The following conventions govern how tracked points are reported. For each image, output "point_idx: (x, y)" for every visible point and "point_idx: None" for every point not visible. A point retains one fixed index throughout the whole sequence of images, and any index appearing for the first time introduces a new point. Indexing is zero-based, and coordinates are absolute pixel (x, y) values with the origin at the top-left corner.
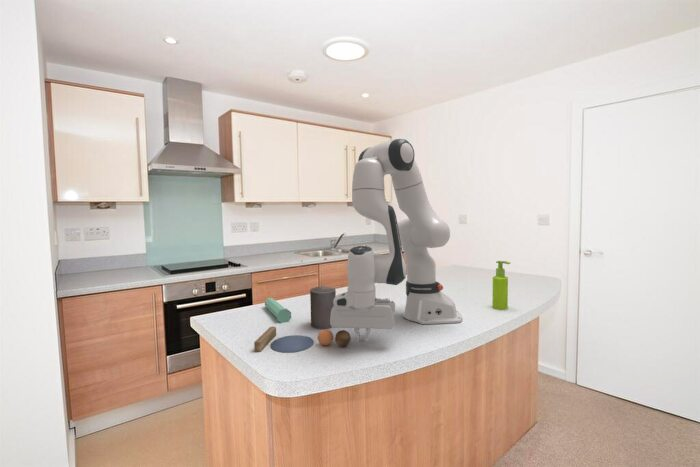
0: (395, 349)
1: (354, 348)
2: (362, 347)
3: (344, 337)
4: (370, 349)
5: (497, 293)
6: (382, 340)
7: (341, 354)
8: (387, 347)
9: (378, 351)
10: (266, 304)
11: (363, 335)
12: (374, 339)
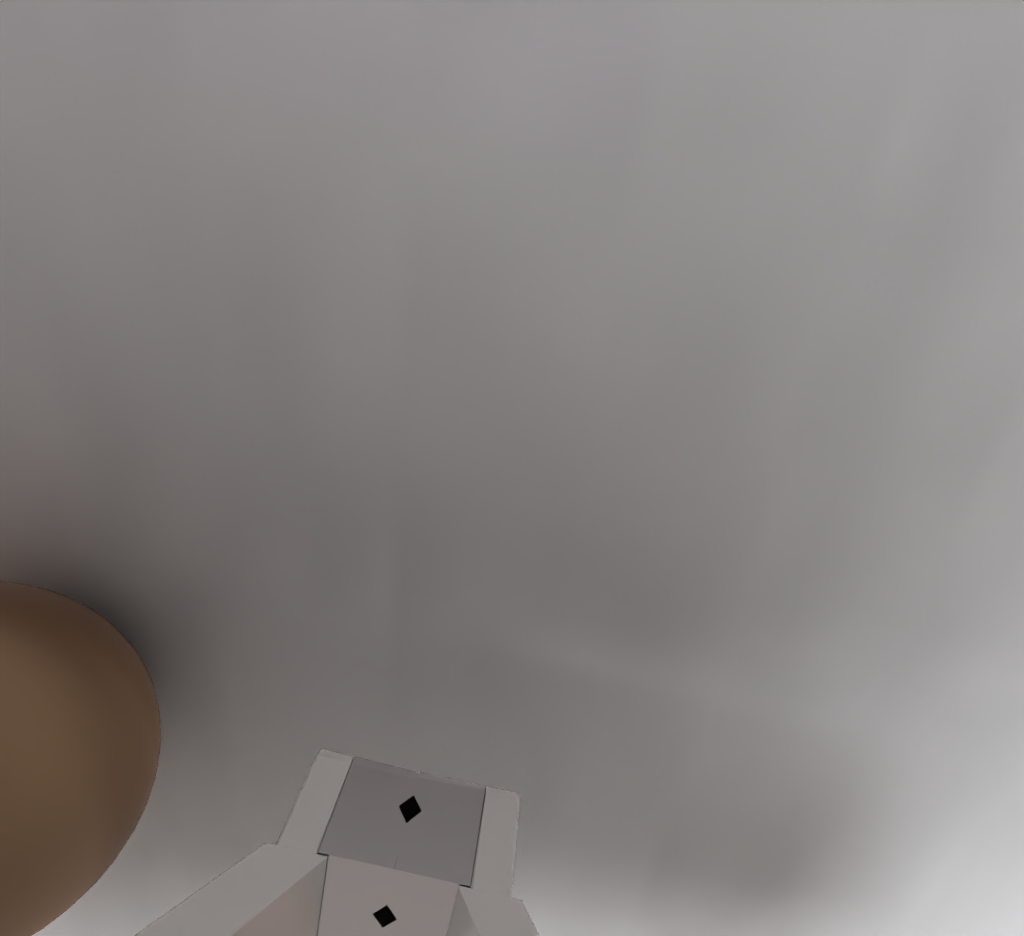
0: (991, 917)
1: (291, 768)
2: (431, 759)
3: None
4: (561, 845)
5: None
6: (923, 526)
7: (114, 899)
8: (885, 834)
9: (677, 922)
10: None
11: (413, 914)
12: (751, 440)
